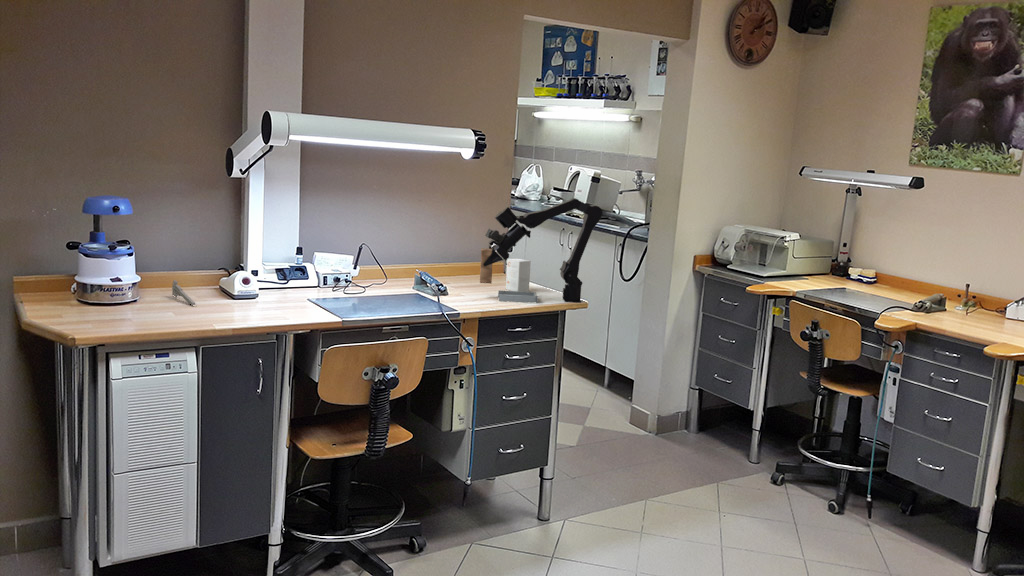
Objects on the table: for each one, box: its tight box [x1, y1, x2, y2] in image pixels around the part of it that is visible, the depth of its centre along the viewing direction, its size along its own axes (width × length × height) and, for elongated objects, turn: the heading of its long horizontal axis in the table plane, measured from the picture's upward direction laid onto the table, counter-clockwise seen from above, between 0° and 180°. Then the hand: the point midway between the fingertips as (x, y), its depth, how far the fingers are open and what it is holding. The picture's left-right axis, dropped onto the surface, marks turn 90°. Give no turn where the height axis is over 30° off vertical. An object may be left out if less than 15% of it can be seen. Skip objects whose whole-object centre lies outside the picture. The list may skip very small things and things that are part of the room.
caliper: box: [171, 279, 197, 306], centre depth 291 cm, size 20×1×6 cm, turn 41°
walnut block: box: [479, 248, 493, 284], centre depth 326 cm, size 4×4×13 cm
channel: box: [497, 289, 539, 303], centre depth 328 cm, size 15×10×2 cm, turn 93°
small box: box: [505, 258, 531, 292], centre depth 347 cm, size 8×6×13 cm
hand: (482, 264), depth 325 cm, fingers closed on walnut block, 5 cm apart
